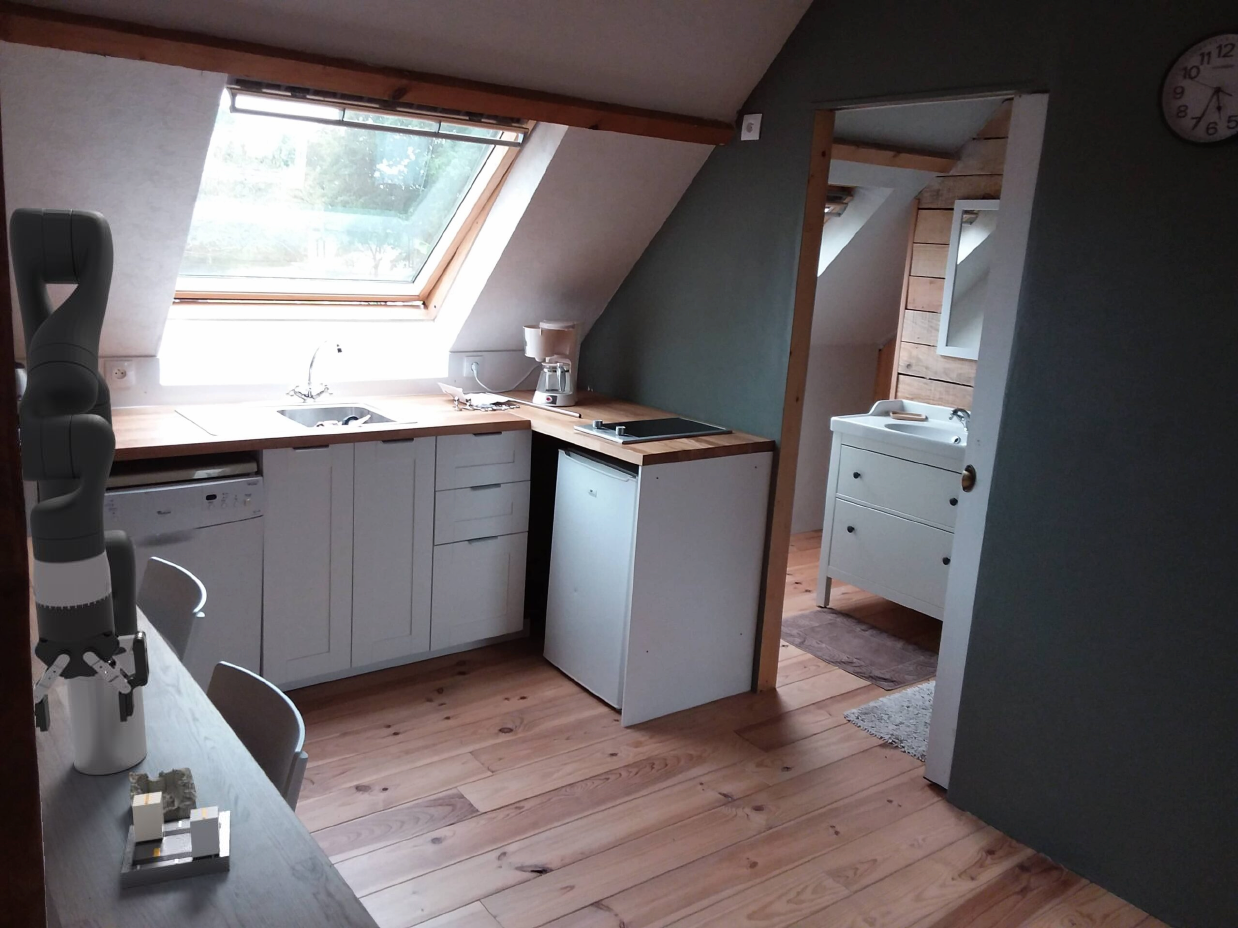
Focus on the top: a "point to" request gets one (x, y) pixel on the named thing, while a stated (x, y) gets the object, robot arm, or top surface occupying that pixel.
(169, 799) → the egg carton
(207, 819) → the slate fader cap
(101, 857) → the top surface
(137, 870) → the fader console
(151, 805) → the ivory cap
